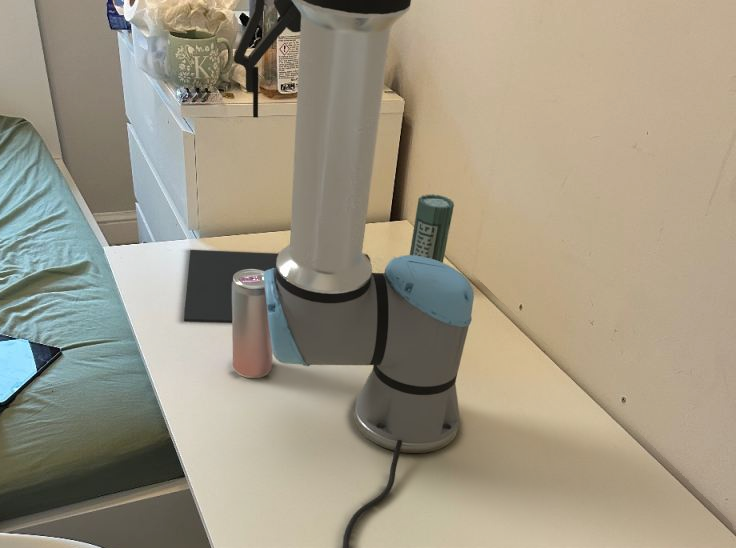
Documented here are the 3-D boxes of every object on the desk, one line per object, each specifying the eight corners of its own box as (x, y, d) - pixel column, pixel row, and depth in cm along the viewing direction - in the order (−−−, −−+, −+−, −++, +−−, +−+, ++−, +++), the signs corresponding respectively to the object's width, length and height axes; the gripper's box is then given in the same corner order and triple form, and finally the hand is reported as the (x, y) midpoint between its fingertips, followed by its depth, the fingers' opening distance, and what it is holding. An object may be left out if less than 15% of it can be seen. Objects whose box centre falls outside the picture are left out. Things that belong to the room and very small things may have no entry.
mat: (292, 324, 125) (292, 322, 124) (183, 320, 122) (183, 318, 122) (284, 255, 143) (284, 253, 143) (190, 251, 140) (190, 249, 140)
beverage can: (229, 360, 115) (228, 269, 104) (267, 357, 116) (269, 267, 106) (236, 381, 111) (236, 289, 100) (275, 378, 112) (278, 287, 102)
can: (442, 278, 143) (458, 200, 132) (431, 290, 138) (446, 210, 128) (414, 269, 144) (427, 191, 134) (401, 281, 140) (414, 201, 130)
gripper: (387, -40, 109) (370, 116, 123) (216, -58, 105) (220, 105, 120) (394, -33, 104) (376, 130, 118) (214, -51, 100) (219, 119, 114)
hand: (297, 118), depth 119 cm, fingers open, 13 cm apart
